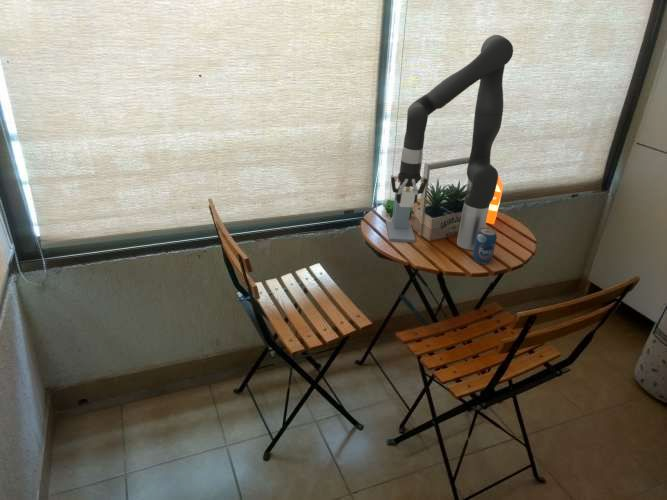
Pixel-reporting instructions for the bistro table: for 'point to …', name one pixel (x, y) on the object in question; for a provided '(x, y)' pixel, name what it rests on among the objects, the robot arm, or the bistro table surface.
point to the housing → (407, 197)
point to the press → (400, 224)
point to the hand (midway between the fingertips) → (405, 202)
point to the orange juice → (495, 203)
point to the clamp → (390, 207)
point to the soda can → (484, 245)
